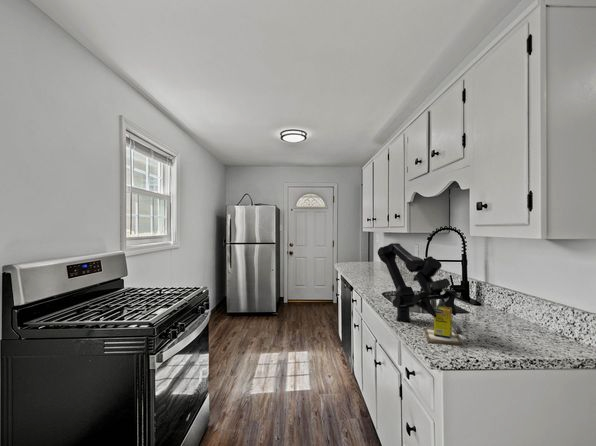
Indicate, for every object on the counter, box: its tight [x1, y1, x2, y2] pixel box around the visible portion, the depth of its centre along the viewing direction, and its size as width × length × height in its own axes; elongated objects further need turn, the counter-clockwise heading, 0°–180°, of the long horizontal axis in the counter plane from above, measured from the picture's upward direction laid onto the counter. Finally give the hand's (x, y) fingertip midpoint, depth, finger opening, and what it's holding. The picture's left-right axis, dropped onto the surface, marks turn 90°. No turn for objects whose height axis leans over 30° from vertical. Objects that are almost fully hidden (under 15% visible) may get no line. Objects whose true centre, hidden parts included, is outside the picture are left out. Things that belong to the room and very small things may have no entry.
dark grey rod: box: [452, 321, 462, 335], centre depth 140 cm, size 13×2×2 cm, turn 164°
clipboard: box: [423, 326, 463, 346], centre depth 130 cm, size 16×12×2 cm
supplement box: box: [433, 305, 453, 338], centre depth 130 cm, size 6×6×11 cm
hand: (445, 316), depth 128 cm, fingers open, 9 cm apart
